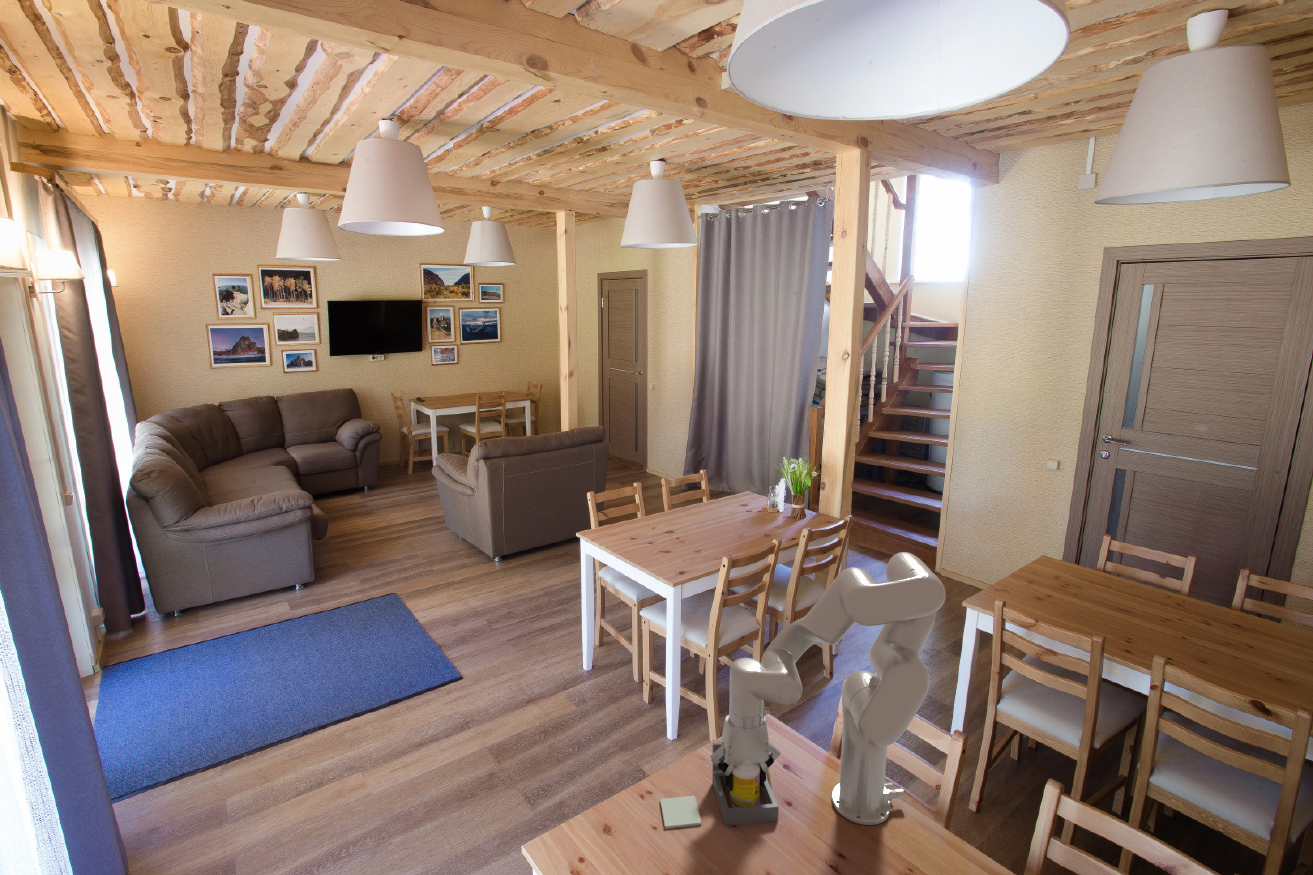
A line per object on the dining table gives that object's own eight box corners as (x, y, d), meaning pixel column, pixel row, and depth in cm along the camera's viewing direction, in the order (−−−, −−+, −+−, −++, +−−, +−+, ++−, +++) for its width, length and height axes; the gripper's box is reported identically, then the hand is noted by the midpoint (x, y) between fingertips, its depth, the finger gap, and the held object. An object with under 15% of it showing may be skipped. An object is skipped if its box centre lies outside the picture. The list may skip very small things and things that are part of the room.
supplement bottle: (758, 815, 142) (759, 764, 139) (728, 811, 143) (729, 761, 140) (759, 794, 148) (760, 744, 146) (731, 790, 149) (731, 741, 147)
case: (765, 778, 153) (766, 737, 151) (782, 819, 140) (783, 775, 138) (712, 783, 151) (712, 742, 149) (724, 825, 139) (725, 781, 137)
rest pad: (694, 797, 147) (694, 795, 147) (701, 824, 139) (701, 822, 139) (660, 801, 146) (660, 798, 146) (665, 828, 138) (665, 826, 138)
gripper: (778, 701, 146) (776, 769, 149) (704, 707, 144) (703, 777, 147) (789, 721, 139) (787, 793, 142) (711, 728, 136) (710, 801, 140)
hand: (744, 784), depth 145 cm, fingers closed on supplement bottle, 6 cm apart
